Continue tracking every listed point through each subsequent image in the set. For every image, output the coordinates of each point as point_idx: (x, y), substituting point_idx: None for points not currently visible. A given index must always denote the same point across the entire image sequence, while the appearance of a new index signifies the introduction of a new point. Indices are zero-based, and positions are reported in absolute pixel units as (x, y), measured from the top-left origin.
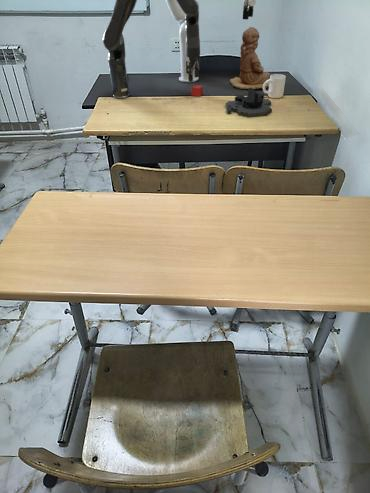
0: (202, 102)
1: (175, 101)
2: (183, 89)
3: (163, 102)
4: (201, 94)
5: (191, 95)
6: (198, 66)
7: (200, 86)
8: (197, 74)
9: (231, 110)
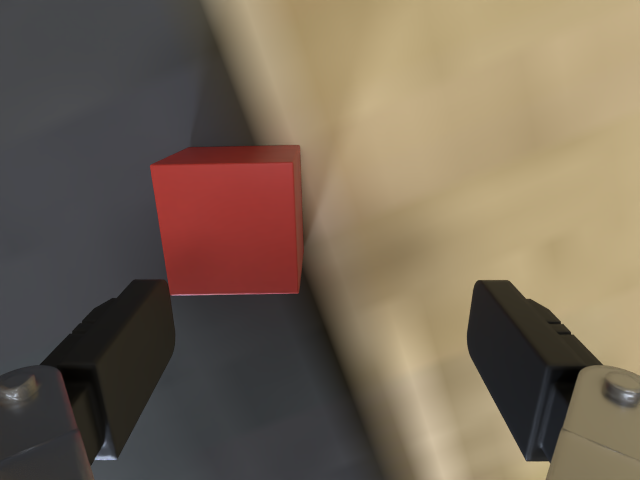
0: (501, 20)
1: None
2: None
3: None
4: (234, 147)
5: (303, 251)
6: (68, 435)
7: (193, 188)
8: (146, 320)
9: None
